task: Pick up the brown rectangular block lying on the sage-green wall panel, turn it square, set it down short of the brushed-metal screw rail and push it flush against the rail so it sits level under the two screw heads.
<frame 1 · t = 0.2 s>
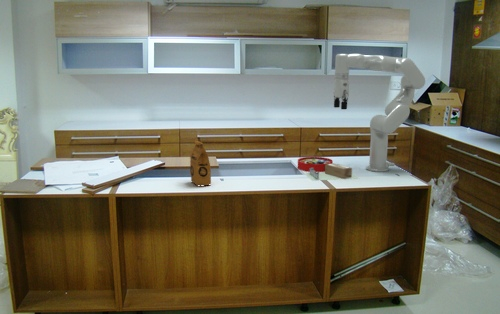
hand: (340, 108, 255), 36 cm above the countertop, tool pointing down, fingers open, 9 cm apart
screw rail: (314, 176, 248), resting on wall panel
coffee package: (201, 184, 239), on the countertop
brown rectangular block: (338, 175, 250), point 1 cm above the countertop, touching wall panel
toy clock: (314, 170, 267), on the countertop
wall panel: (330, 177, 249), on the countertop
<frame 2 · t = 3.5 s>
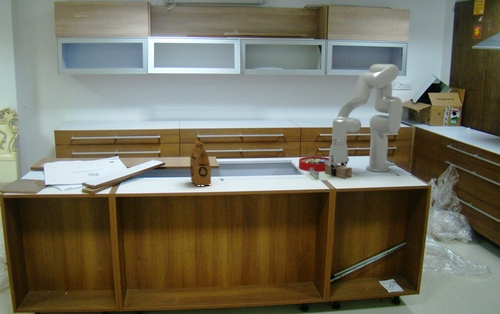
hand: (338, 174, 250), 2 cm above the countertop, tool pointing down, fingers closed on brown rectangular block, 6 cm apart
brown rectangular block: (338, 175, 250), point 1 cm above the countertop, touching gripper, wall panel
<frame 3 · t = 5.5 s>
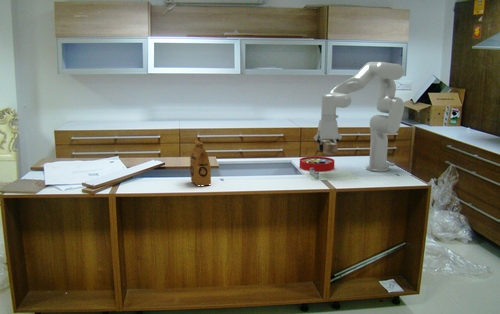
hand: (327, 151, 246), 15 cm above the countertop, tool pointing down, fingers closed on brown rectangular block, 6 cm apart
brown rectangular block: (327, 151, 246), point 14 cm above the countertop, touching gripper
when the fingers open (2 cm above the countertop, at t = 7.7 s): brown rectangular block stays where it is, resting on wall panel.
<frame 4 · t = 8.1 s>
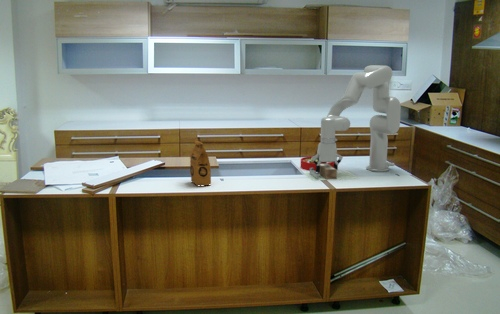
hand: (326, 172, 248), 3 cm above the countertop, tool pointing down, fingers open, 9 cm apart
brown rectangular block: (326, 175, 249), point 1 cm above the countertop, touching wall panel
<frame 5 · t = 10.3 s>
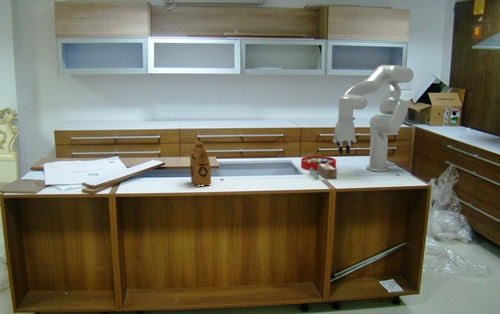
hand: (344, 153, 248), 13 cm above the countertop, tool pointing down, fingers open, 3 cm apart
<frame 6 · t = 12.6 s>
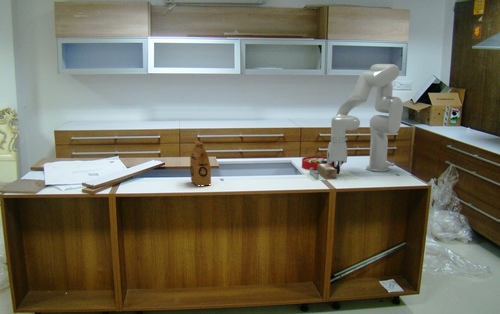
hand: (336, 173, 249), 2 cm above the countertop, tool pointing down, fingers closed
brown rectangular block: (326, 175, 249), point 1 cm above the countertop, touching gripper, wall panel
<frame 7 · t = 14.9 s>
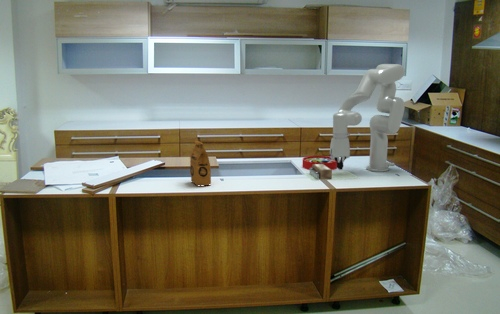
hand: (340, 168, 251), 4 cm above the countertop, tool pointing down, fingers closed
brown rectangular block: (321, 176, 248), point 1 cm above the countertop, touching screw rail, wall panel
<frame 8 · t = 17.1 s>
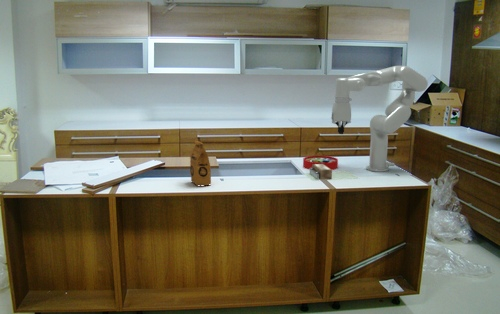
hand: (340, 133, 257), 22 cm above the countertop, tool pointing down, fingers closed
at the end: brown rectangular block 0.6 cm from the target spot, point 1.2 cm above the countertop; brown rectangular block touching screw rail, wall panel; brown rectangular block tilted 0° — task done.
